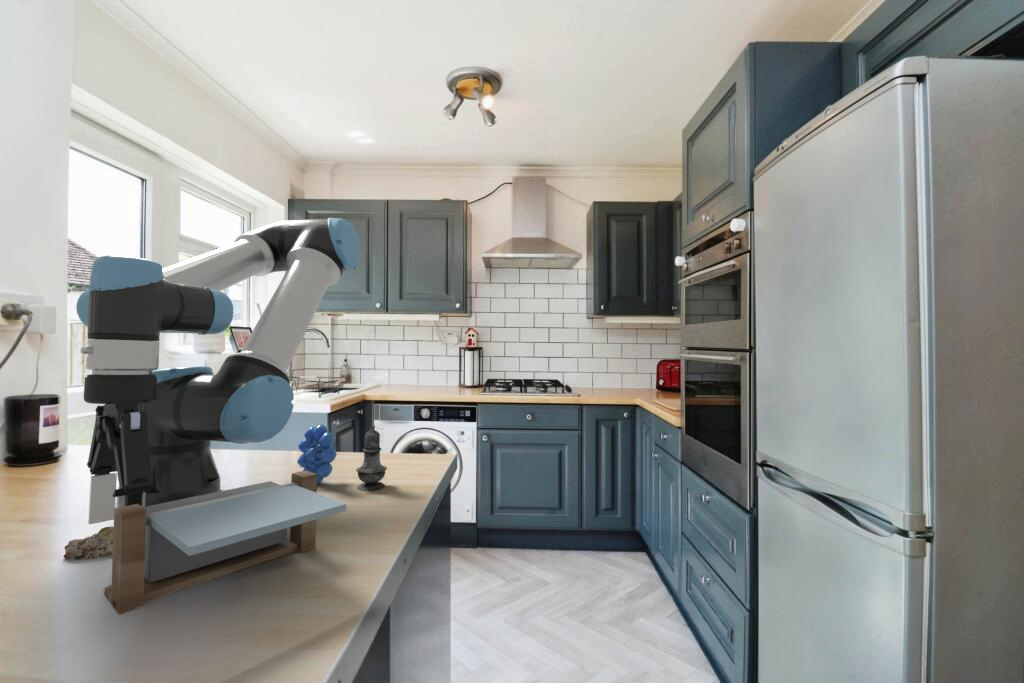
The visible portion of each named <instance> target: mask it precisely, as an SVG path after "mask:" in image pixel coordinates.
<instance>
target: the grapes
mask: <svg viewBox="0 0 1024 683" xmlns="http://www.w3.org/2000/svg"><path fill="white" fill-rule="evenodd" d="M335 441H336V440H335V436H334V435H333V434H332V433H331V432H329V430H328V428H327V426H326V425H324V424H317V426H316V427H314V426H311V427H309V428H308V429H307V430H306V431H305V433H304V435H303V439H302V440H301V441H300V443H299V444H298V449H299V451H300V452H301V453H302V454H301V455H300V456H299V457H298V459H297V461H296V463H297V464H298V466H299V467H300V468H303V470H302V471H305V470H306V471H309V472H312V473H315V474H317V485H318V484H321V482H323V480H324V478H328V477H329V476H330V475H331V473H332V472H333V465H332V464H331V463H333V462H334V461H335V460H336V457H337V456H338V454H337V450H336V448H335V446H334V445H333V444H334V442H335Z"/></svg>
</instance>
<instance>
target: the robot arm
mask: <svg viewBox="0 0 1024 683" xmlns="http://www.w3.org/2000/svg"><path fill="white" fill-rule="evenodd" d="M361 258H362V248H361V242H360V238H359V235H358V232H357V231H356V228H355V227H354V225H353V224H352V223H351V222H350V221H349V220H347V219H345V218H343V217H339V218H338V217H335V218H334V217H331V216H330V217H328V218H313V219H309V218H307V219H304V218H303V219H287V220H286V219H285V220H280V221H277V222H273V223H270V224H267V225H264V226H262V227H259V228H256V229H253V230H251V231H248V232H246V233H243V234H241V235H239V236H238V237H237V238H235V240H234V242H233V243H230V244H228V245H225V246H222V247H219V248H216V249H214V250H212V251H209V252H205V253H203V254H200V255H197V256H195V257H192V258H188V259H186V260H184V261H181V262H178V263H175V264H173V265H170V266H167V267H164V268H163V267H162V265H161V264H160V263H159V262H157V261H154V260H151V259H147V258H141V257H137V256H136V257H135V256H127V255H102V256H99V257H97V258H95V260H94V261H93V262H92V267H91V271H90V277H89V278H90V280H89V285H88V286H87V289H86V290H84V291H83V292H82V293H81V294H80V295H79V297H78V299H77V301H76V314H77V316H78V318H79V320H80V321H81V323H82V324H83V325H84V326H85V327H87V346H82V347H81V348H80V353H81V354H82V355H87V356H86V360H85V362H86V364H85V369H87V370H88V371H91V374H87V375H86V376H84V384H83V387H84V388H83V400H84V402H85V403H88V404H92V405H93V404H97V406H96V407H95V421H94V426H93V432H92V437H91V442H90V450H89V455H88V460H87V463H86V467H87V468H88V469H89V473H90V475H91V476H90V484H89V487H90V488H89V504H88V505H89V506H88V520H87V521H88V524H89V525H94V524H99V523H103V522H104V523H105V522H109V521H114V508H119V507H124V506H129V505H134V504H139V505H140V506H142V507H146V506H151V505H156V504H161V503H166V502H171V501H176V500H181V499H185V498H190V497H195V496H200V495H205V494H210V493H215V492H220V491H221V476H220V473H219V470H218V467H217V464H216V462H215V458H214V457H213V453H212V450H211V442H212V441H213V442H225V443H226V442H227V443H233V444H241V445H242V444H249V443H251V444H252V443H253V444H254V443H255V444H256V443H262V442H266V441H268V440H270V439H272V438H275V436H277V435H278V434H279V433H280V432H281V431H282V430H283V429H284V428H285V427H286V426H287V424H288V423H289V420H290V418H291V416H292V413H293V410H294V403H292V401H294V400H295V397H294V391H293V390H294V389H293V388H292V386H291V378H290V376H289V373H288V369H289V367H290V365H291V363H292V361H293V359H294V356H295V355H296V353H297V350H298V349H299V346H300V345H301V343H302V340H303V338H304V337H305V335H306V332H307V331H308V328H309V326H310V324H311V323H312V320H313V319H314V316H315V314H316V312H317V310H318V307H319V306H320V304H321V302H322V300H323V298H324V296H325V293H326V291H327V289H328V287H332V286H335V285H336V284H338V283H339V281H340V279H341V278H342V275H343V273H344V271H348V272H350V271H353V270H356V269H357V268H358V267H359V266H360V263H361ZM275 272H276V273H277V272H285V273H284V276H283V278H282V279H281V281H280V282H279V284H278V286H277V288H276V289H275V291H274V293H273V294H272V296H271V298H270V300H269V301H268V303H267V305H266V307H265V309H264V310H263V312H262V314H261V316H260V317H259V319H258V320H257V322H256V324H255V326H254V327H253V329H252V332H251V333H250V335H249V337H248V339H247V340H246V342H244V345H243V347H242V348H241V351H240V352H238V353H233V354H230V355H228V356H227V357H226V358H225V359H224V361H223V363H222V364H221V366H220V367H219V370H218V371H217V373H216V374H215V373H214V372H213V369H212V367H210V366H207V365H206V366H204V365H203V366H185V367H184V366H182V367H174V368H173V367H172V368H162V369H159V365H160V364H159V363H160V360H159V359H160V334H197V335H199V336H201V335H203V336H206V335H218V334H221V333H222V332H224V331H225V330H227V329H228V328H229V327H230V325H231V324H232V321H233V318H234V312H235V311H234V304H233V302H232V299H231V298H230V297H229V296H228V295H227V293H225V292H223V291H224V290H226V289H228V288H230V287H232V286H234V285H237V284H238V283H241V282H243V281H245V280H247V279H249V278H252V277H253V276H255V277H265V276H267V275H269V274H271V273H272V274H273V273H275ZM116 472H117V473H116ZM117 480H118V485H119V486H118V488H117Z"/></svg>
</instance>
